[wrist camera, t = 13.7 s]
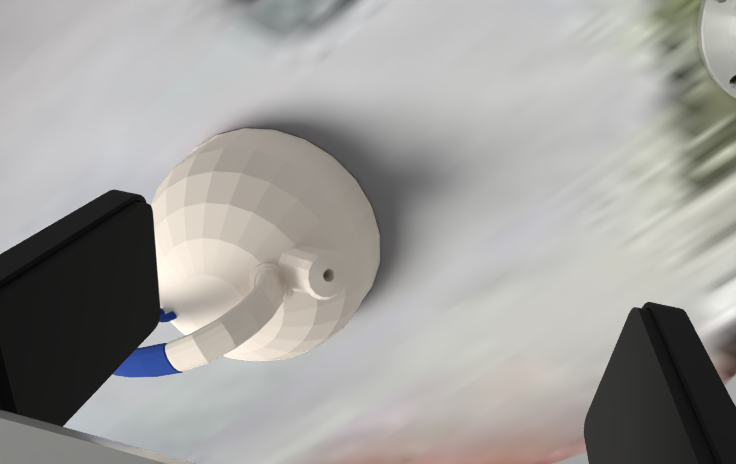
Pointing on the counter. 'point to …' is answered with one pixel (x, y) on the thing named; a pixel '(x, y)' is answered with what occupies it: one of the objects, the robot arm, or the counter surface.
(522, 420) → the counter surface
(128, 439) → the counter surface
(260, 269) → the kettle
